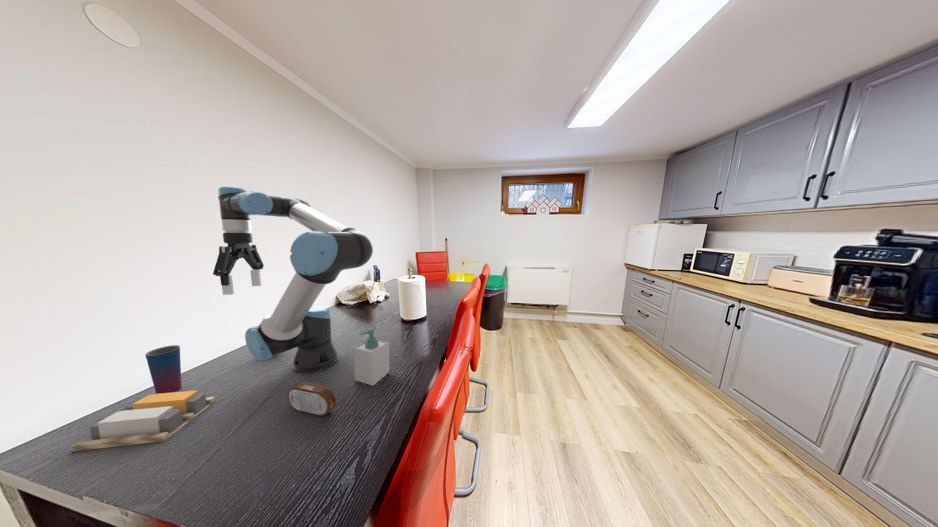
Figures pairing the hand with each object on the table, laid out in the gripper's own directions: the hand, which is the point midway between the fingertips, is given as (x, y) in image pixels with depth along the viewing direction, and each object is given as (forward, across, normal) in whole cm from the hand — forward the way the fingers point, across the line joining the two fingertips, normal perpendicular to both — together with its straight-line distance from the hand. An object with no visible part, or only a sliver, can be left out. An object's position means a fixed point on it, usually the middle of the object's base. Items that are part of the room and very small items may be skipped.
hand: (243, 289), depth 88 cm
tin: (+32, +27, +33) cm, 53 cm away
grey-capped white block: (+31, +29, -7) cm, 43 cm away
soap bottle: (+32, +12, +47) cm, 58 cm away
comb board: (+32, +26, -7) cm, 42 cm away
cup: (+32, +11, -17) cm, 38 cm away
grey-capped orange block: (+31, +22, -7) cm, 39 cm away
